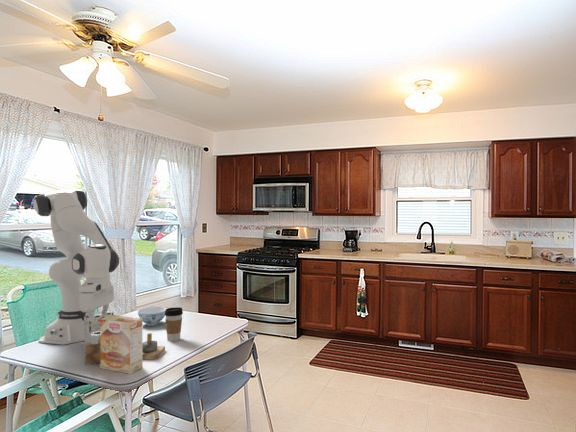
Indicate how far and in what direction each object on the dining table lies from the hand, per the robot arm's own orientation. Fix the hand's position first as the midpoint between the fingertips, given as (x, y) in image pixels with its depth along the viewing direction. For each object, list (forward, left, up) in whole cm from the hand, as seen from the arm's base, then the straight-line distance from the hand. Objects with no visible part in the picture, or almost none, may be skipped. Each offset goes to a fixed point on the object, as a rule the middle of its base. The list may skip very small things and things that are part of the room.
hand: (98, 317), depth 156 cm
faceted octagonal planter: (0, 0, -10) cm, 10 cm away
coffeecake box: (+12, -6, -18) cm, 23 cm away
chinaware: (+2, +53, -18) cm, 56 cm away
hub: (+18, +8, -18) cm, 27 cm away
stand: (0, 0, -18) cm, 18 cm away
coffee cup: (+22, +28, -18) cm, 40 cm away
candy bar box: (-6, +12, -18) cm, 23 cm away
